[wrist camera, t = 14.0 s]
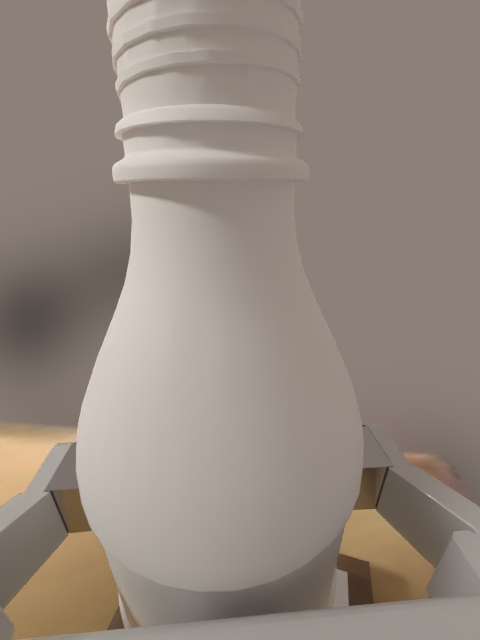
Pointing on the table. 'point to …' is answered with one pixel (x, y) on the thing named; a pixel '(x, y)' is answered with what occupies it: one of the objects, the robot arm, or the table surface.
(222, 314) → the water bottle
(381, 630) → the robot arm
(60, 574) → the table surface
